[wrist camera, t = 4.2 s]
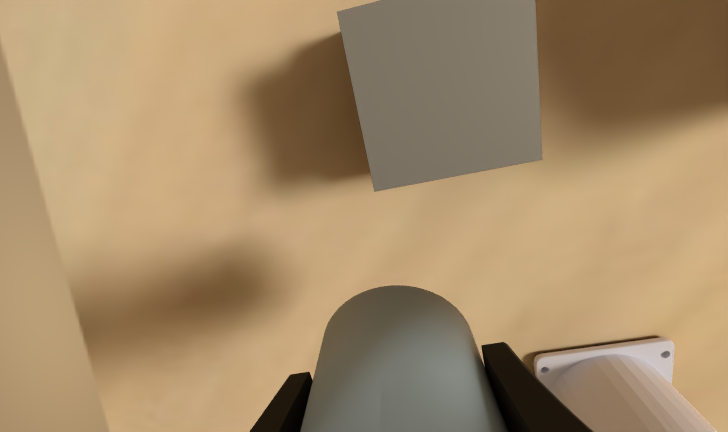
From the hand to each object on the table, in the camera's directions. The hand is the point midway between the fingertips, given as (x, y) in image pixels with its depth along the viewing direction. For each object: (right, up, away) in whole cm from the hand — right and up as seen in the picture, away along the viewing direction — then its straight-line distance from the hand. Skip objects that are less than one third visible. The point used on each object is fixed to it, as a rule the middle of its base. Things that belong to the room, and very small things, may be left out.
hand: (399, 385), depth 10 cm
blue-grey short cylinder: (0, 0, +1) cm, 2 cm away
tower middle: (+2, +10, +4) cm, 11 cm away
